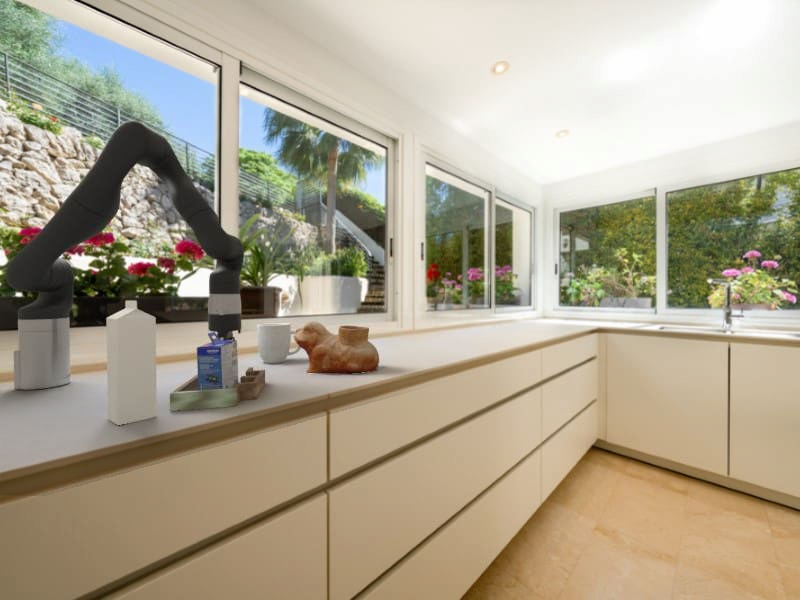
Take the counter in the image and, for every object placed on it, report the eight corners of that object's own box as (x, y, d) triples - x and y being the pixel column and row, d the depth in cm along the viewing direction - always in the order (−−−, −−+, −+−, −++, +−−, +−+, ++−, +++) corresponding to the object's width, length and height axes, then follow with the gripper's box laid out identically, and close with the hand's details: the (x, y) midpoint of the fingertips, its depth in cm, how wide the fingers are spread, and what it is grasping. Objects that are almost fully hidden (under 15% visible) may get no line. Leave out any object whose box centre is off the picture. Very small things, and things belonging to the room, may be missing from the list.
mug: (301, 357, 129) (300, 322, 129) (303, 362, 119) (303, 324, 118) (257, 360, 124) (257, 323, 124) (256, 366, 113) (256, 325, 113)
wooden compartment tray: (170, 411, 69) (169, 393, 69) (204, 383, 91) (204, 369, 91) (254, 404, 73) (254, 387, 73) (267, 379, 95) (267, 366, 95)
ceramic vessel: (302, 365, 115) (301, 319, 115) (381, 365, 114) (381, 319, 113) (286, 374, 101) (286, 323, 101) (376, 375, 100) (376, 322, 100)
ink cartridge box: (214, 390, 83) (214, 330, 83) (239, 390, 84) (239, 330, 84) (195, 403, 73) (195, 335, 73) (223, 403, 74) (223, 335, 74)
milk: (145, 411, 69) (144, 300, 69) (157, 417, 66) (156, 300, 66) (106, 419, 65) (105, 300, 64) (117, 426, 61) (116, 300, 61)
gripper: (215, 310, 94) (216, 374, 95) (200, 313, 81) (201, 387, 82) (245, 310, 96) (246, 372, 97) (235, 313, 83) (236, 385, 84)
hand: (225, 379), depth 89 cm, fingers closed
